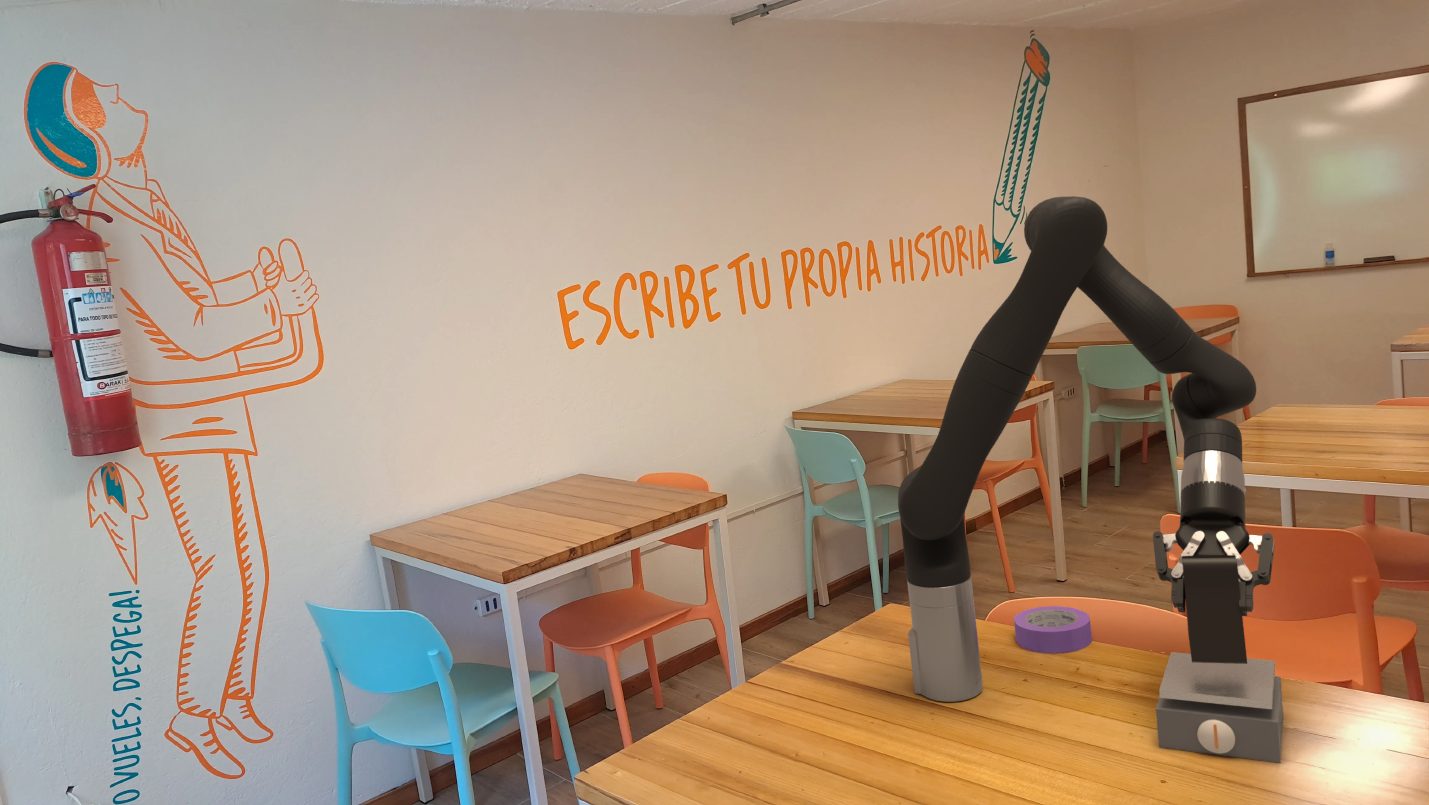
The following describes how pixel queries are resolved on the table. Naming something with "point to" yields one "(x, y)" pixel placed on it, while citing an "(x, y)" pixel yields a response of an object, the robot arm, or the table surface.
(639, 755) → the table surface
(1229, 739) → the base
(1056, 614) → the masking tape
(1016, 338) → the robot arm
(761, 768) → the table surface
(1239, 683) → the pan
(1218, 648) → the phone stand
